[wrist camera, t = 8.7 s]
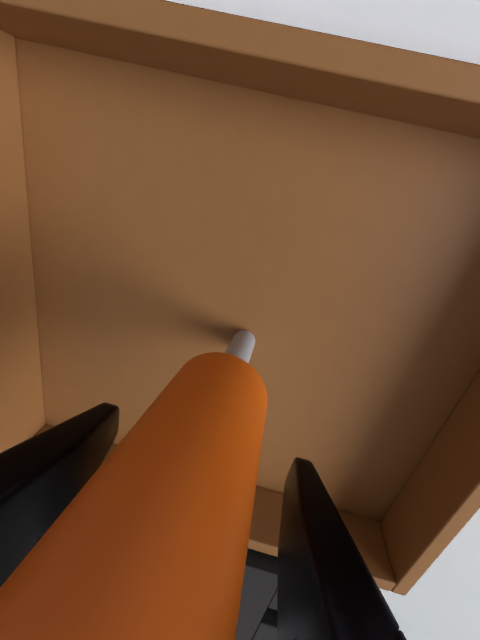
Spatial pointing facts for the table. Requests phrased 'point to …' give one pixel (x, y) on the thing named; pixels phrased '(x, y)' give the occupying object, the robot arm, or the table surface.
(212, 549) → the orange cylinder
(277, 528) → the tray
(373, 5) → the table surface
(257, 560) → the holder
